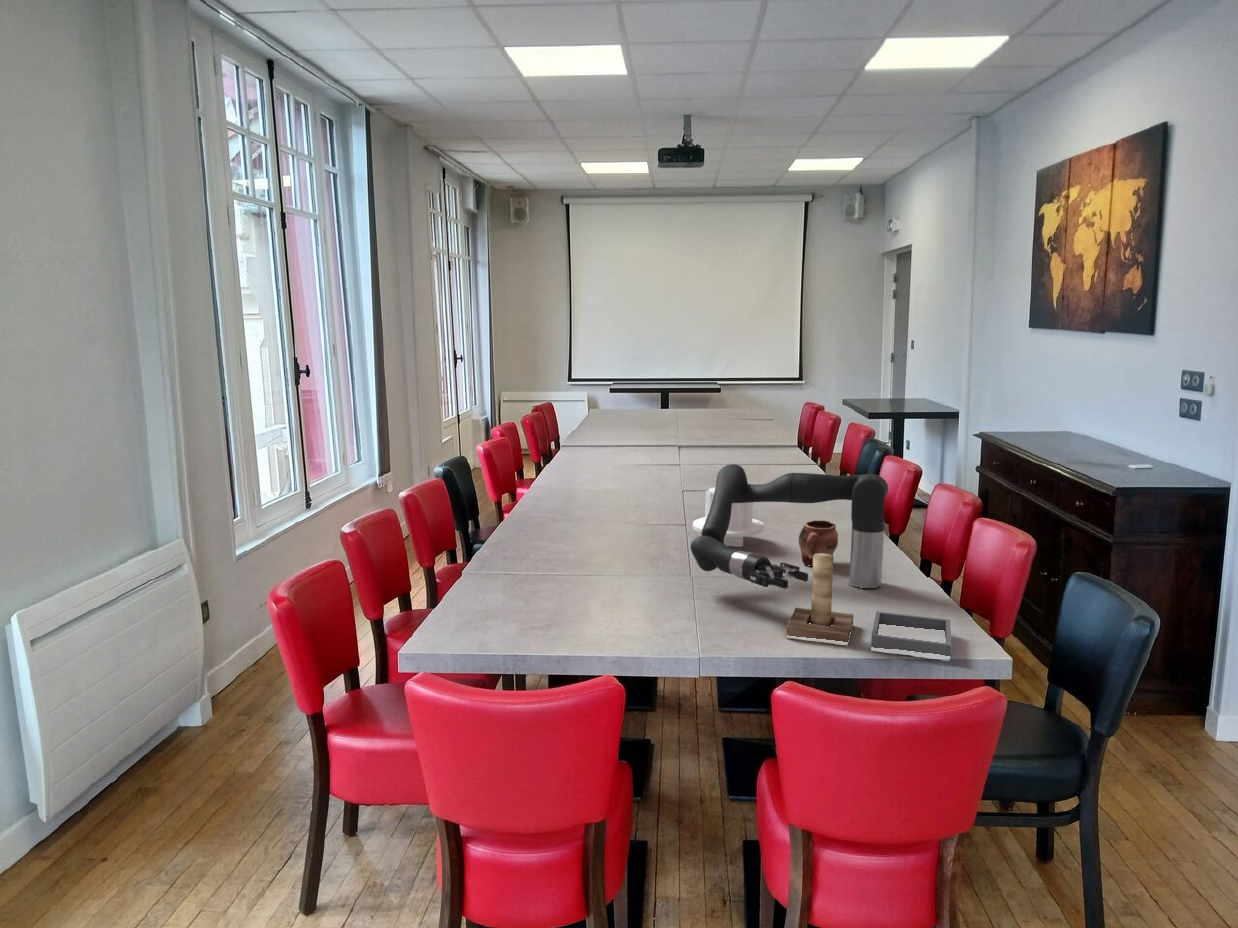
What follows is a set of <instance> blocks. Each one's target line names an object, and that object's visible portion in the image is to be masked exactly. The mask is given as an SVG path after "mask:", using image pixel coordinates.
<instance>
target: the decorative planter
mask: <svg viewBox="0 0 1238 928" xmlns="http://www.w3.org/2000/svg"><path fill="white" fill-rule="evenodd" d="M836 527H837V526H836V523H834V522H831V521H829V520H825V519H824V520H816V519H815V520H814V519H813V520H811V521H807V522H805V523H804V524H803V526H802V528H801V531H800V533H799V535H798V546H799V549H800V553H801V560H802V563H804V564H806V565H810V566H813V555H814V554H820V553H822V554H830V555H832V556H833V557H834V553H835V551H836V549H837V548H838V544H839V541H838V540H839V538H838V537H839V532H838V531H837V530H836ZM833 563H834V560H833ZM804 564H803V565H804ZM806 565H805V566H806ZM810 566H809V567H810Z"/></svg>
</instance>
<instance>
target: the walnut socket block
mask: <svg viewBox="0 0 1238 928" xmlns="http://www.w3.org/2000/svg"><path fill="white" fill-rule="evenodd" d="M854 617H855V615H854V613H845V612H836V611H831V625H833V626H824V625H816V624H809V623H811V609H810V608H803V607H795V609H794V611H792V614H791V617H790V618H789V621H788V624H787V626H786V635H789V636H796V637H806V638H816V639H826V640H835V641H843V642H848V640H849V641H850V639H849V636H850V637H851V635H850V632H851V628H852V625H853V626H854ZM852 629H853V628H852ZM851 633H852V632H851Z"/></svg>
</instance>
